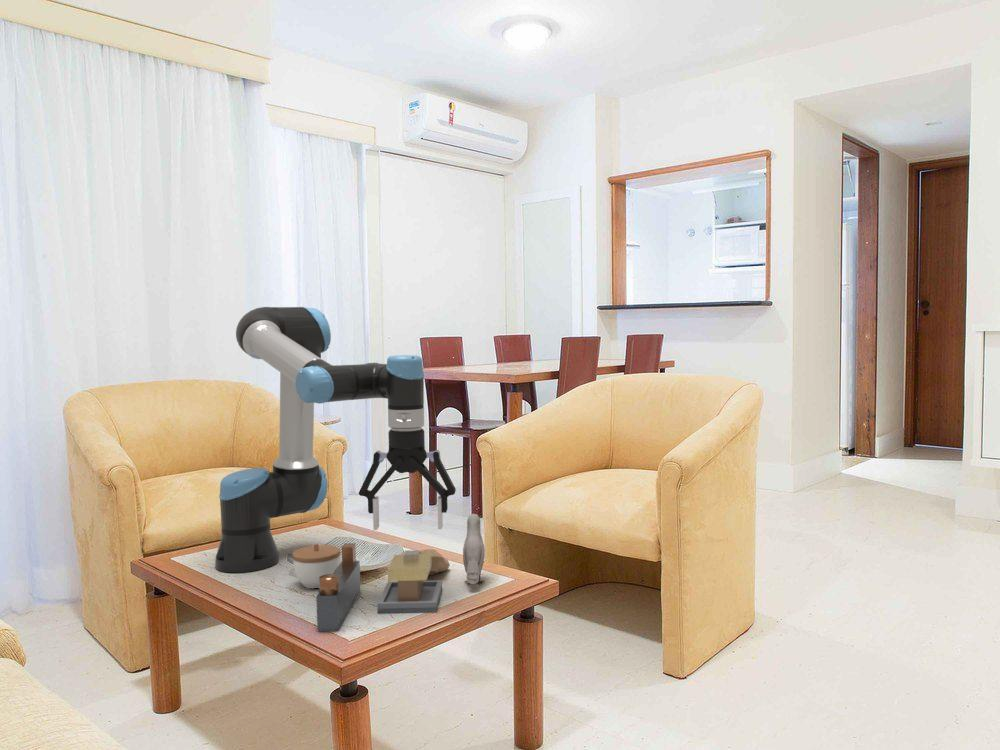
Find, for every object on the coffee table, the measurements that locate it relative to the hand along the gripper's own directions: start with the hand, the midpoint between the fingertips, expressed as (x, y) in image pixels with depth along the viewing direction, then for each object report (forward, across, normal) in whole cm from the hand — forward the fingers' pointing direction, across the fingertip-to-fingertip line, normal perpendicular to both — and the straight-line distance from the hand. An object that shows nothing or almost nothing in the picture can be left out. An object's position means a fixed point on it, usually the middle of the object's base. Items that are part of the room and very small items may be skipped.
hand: (408, 528), depth 158 cm
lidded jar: (+16, -23, +12) cm, 30 cm away
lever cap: (+10, 0, 0) cm, 10 cm away
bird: (+16, +13, +11) cm, 23 cm away
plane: (+16, -14, -5) cm, 21 cm away
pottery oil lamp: (+16, +3, +16) cm, 23 cm away
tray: (+16, 0, 0) cm, 16 cm away
